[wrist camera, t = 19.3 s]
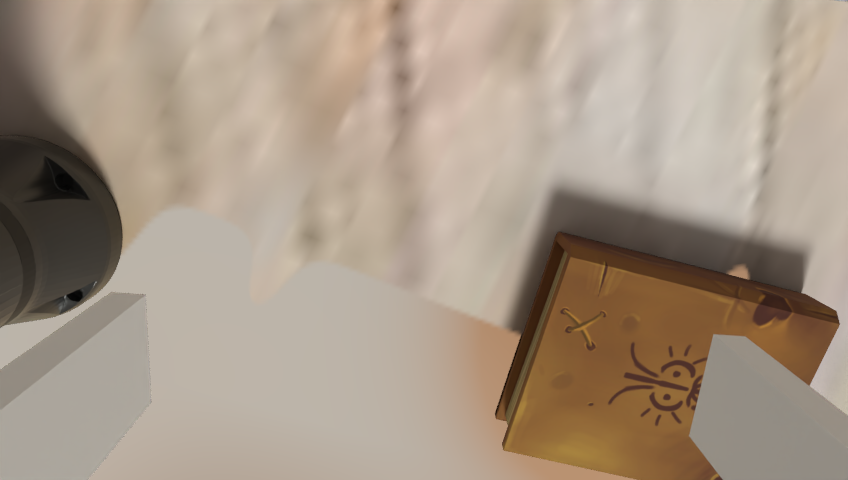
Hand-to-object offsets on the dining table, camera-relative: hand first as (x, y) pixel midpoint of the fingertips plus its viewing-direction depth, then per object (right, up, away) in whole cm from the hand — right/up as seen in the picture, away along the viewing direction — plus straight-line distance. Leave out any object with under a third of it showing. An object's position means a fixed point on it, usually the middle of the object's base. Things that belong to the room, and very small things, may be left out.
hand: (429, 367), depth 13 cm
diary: (+20, -7, +39) cm, 45 cm away
